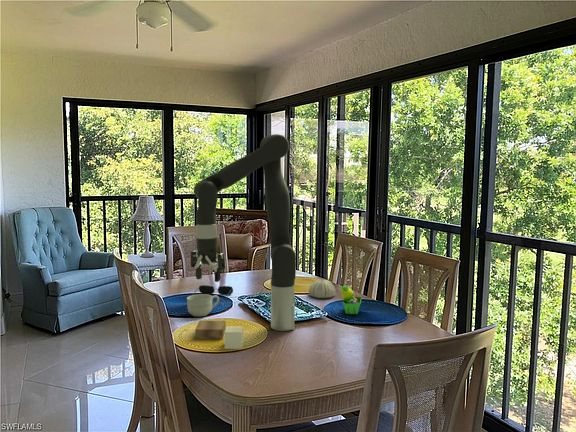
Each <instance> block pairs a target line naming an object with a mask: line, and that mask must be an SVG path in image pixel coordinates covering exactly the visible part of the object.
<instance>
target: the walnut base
mask: <svg viewBox="0 0 576 432" xmlns="http://www.w3.org/2000/svg"><path fill="white" fill-rule="evenodd" d="M226 324H227V321H226V320H199V321H198V323H197V325H196V327H195V329H194V330H195V331H194V332H195V334H194V335H195V336H194V338H195V340H223V339H224V338H225V330H226V327H227V325H226Z"/></svg>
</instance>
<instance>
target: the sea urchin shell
mask: <svg viewBox="0 0 576 432" xmlns="http://www.w3.org/2000/svg"><path fill="white" fill-rule="evenodd" d="M336 292H337V291H336V287H335V286H334V285H333V283H332V282H330V281H329V280H327V279H317V280H315V281H314V282H313V283H312V284H311V285H310V286H309V288H308V294H309V296H310V297H313V298H317V299H328V298H329V299H330V298H332V297H334V296H335V294H336Z"/></svg>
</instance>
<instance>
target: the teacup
mask: <svg viewBox="0 0 576 432" xmlns="http://www.w3.org/2000/svg"><path fill="white" fill-rule="evenodd" d="M214 299H216V302H214V303H213V300H214ZM219 302H220V297H219V296H218V295H217V294H214V295H212V294H202V293H200V294H194V295H193V294H192V295H188V296H187V297H186V303H187V311H188V313H189V314H190V315H191V316H193V317H205V316H208V315H209V313H211V312H212V310H213V308H214V307H215V306H217V305H218V304H219Z"/></svg>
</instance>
